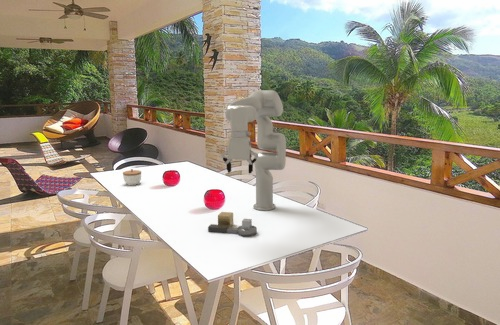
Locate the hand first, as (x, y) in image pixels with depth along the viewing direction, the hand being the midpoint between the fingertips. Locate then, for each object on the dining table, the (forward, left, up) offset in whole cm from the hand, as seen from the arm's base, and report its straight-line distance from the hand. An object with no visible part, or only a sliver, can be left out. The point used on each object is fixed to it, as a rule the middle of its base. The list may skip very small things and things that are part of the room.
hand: (239, 172), depth 180 cm
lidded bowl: (-80, -104, -30) cm, 134 cm away
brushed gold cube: (-10, -11, -29) cm, 33 cm away
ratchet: (-2, -5, -29) cm, 30 cm away
